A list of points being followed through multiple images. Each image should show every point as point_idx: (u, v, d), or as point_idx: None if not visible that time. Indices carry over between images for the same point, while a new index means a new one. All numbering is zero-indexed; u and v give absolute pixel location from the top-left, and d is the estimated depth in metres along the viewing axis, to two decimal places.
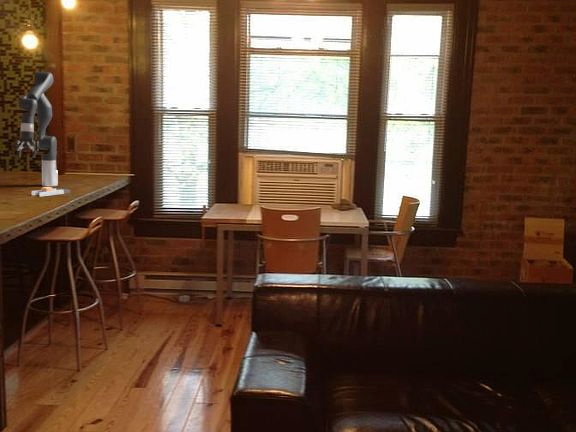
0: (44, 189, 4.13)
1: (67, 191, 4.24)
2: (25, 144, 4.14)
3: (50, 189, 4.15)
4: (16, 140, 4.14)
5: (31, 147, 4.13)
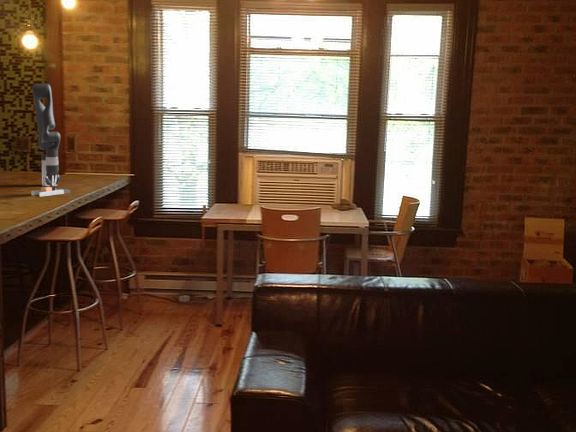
0: (43, 189, 4.13)
1: (67, 191, 4.24)
2: None
3: (49, 189, 4.14)
4: (46, 178, 4.12)
5: (55, 181, 4.18)
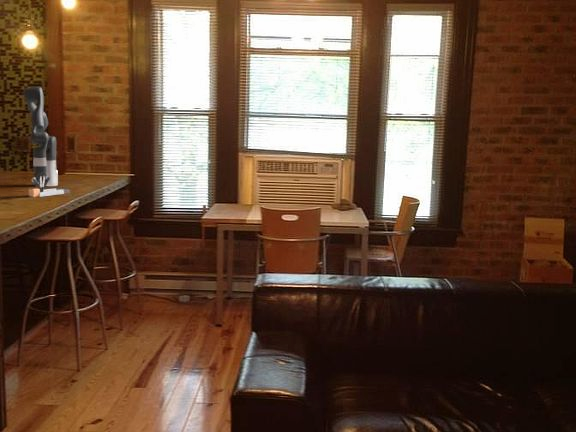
0: (31, 190, 4.05)
1: (67, 191, 4.24)
2: None
3: (37, 190, 4.07)
4: (34, 179, 4.04)
5: (43, 182, 4.10)
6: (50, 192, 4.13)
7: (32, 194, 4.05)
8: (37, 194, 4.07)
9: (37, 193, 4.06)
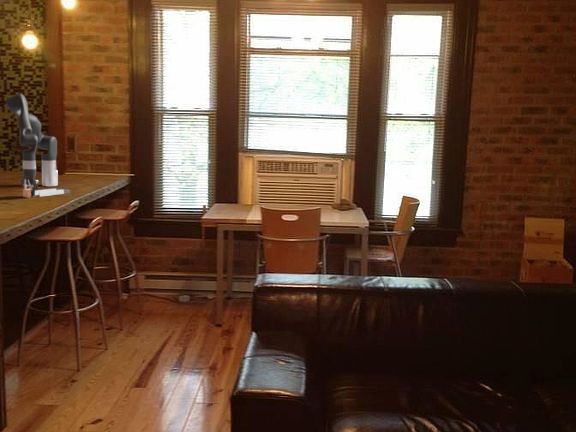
0: (25, 191, 4.02)
1: (67, 191, 4.24)
2: None
3: None
4: None
5: (29, 184, 4.07)
6: (50, 192, 4.13)
7: (26, 195, 4.02)
8: None
9: None
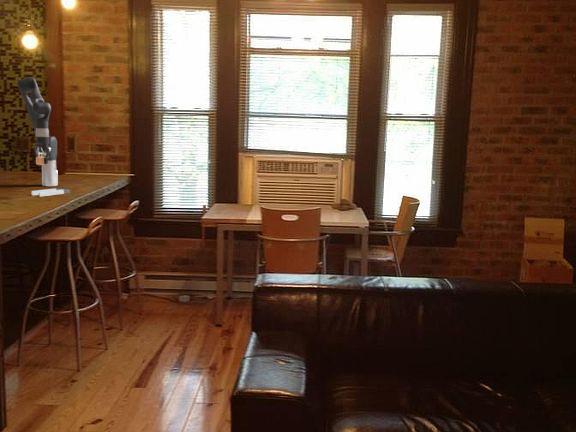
0: (38, 159, 4.07)
1: (67, 191, 4.24)
2: None
3: None
4: (50, 148, 4.07)
5: (42, 152, 4.12)
6: (50, 192, 4.13)
7: (39, 162, 4.07)
8: None
9: None
